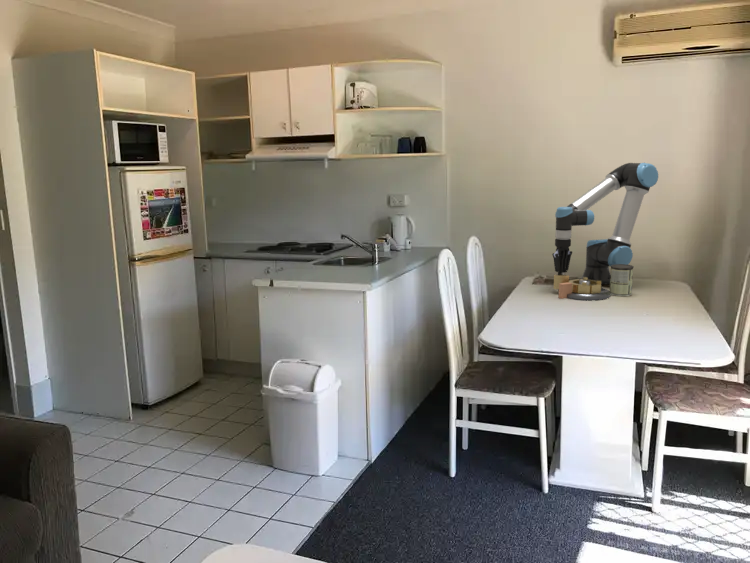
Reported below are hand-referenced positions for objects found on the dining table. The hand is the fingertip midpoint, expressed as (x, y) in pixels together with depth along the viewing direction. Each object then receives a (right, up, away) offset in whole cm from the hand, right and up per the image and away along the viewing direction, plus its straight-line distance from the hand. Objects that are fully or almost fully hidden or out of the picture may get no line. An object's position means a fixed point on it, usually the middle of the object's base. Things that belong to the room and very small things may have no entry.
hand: (561, 285), depth 312 cm
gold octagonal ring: (+6, -2, -6) cm, 9 cm away
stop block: (-2, -6, -12) cm, 13 cm away
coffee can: (+27, -5, -6) cm, 28 cm away
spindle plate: (+9, -5, -7) cm, 12 cm away
